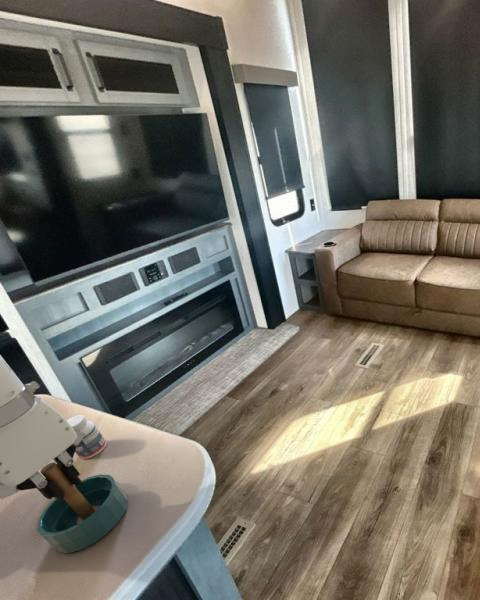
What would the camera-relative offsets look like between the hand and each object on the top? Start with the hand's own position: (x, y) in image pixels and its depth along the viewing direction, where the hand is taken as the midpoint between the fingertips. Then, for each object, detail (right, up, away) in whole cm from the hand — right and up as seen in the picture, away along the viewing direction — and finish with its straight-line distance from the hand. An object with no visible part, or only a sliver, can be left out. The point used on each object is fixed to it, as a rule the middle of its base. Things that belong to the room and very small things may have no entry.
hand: (65, 488), depth 62 cm
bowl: (+1, -8, +5) cm, 10 cm away
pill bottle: (-12, -2, +20) cm, 24 cm away
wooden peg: (+1, -7, +4) cm, 9 cm away
